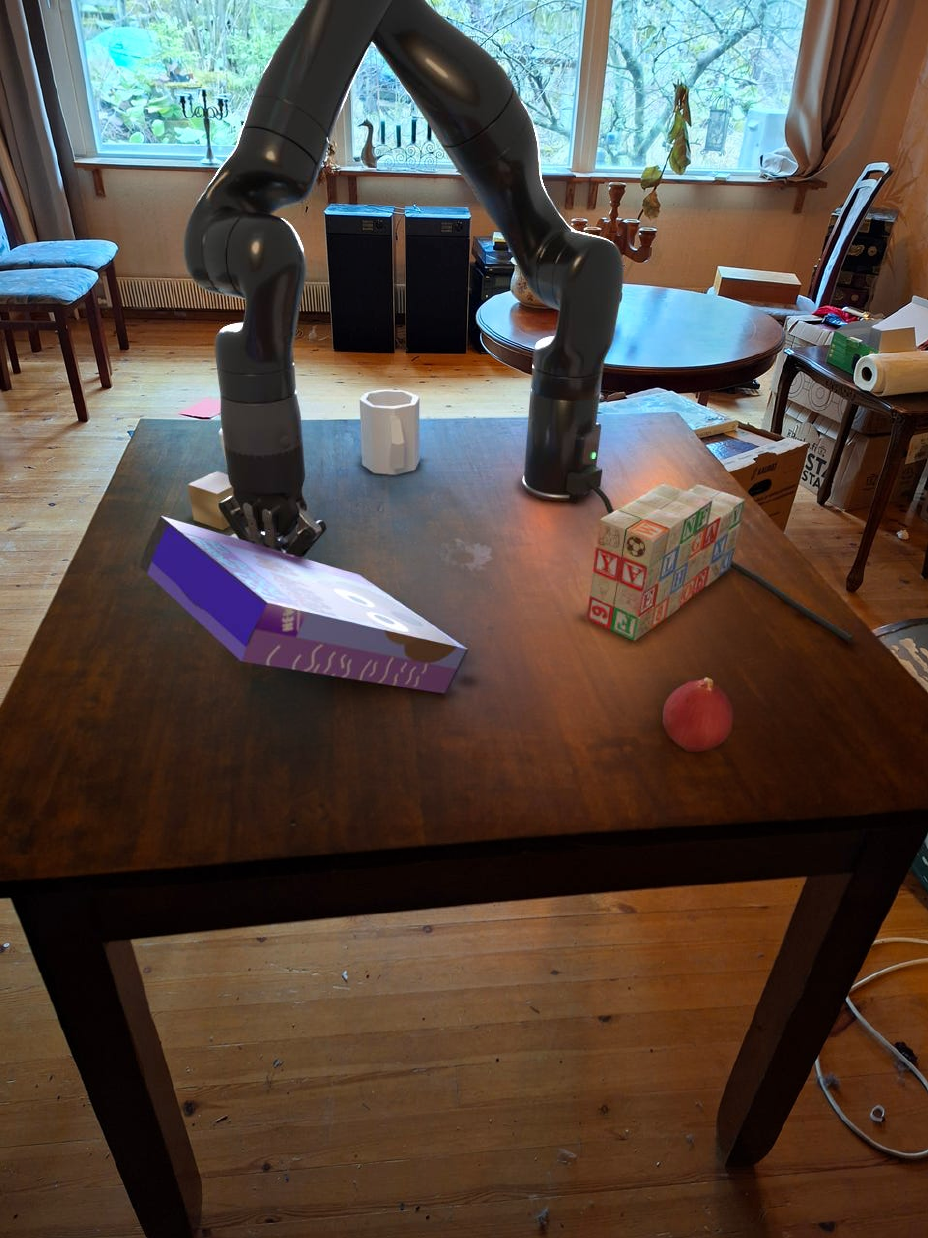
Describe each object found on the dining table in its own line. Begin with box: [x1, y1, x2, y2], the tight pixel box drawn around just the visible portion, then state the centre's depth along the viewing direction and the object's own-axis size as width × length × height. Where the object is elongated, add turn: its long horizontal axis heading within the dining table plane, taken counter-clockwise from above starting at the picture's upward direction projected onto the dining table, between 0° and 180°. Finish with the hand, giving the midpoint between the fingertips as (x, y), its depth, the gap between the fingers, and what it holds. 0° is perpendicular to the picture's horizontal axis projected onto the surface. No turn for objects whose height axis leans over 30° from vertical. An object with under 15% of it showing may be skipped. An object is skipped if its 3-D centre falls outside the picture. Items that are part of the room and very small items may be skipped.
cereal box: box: [139, 515, 469, 695], centre depth 74 cm, size 17×5×24 cm
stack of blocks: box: [586, 483, 746, 642], centre depth 92 cm, size 21×6×12 cm, turn 138°
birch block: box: [187, 470, 234, 531], centre depth 106 cm, size 5×5×5 cm
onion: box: [662, 677, 734, 753], centre depth 71 cm, size 6×6×8 cm
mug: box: [359, 389, 420, 476], centre depth 119 cm, size 12×9×10 cm
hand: (278, 589), depth 90 cm, fingers closed
